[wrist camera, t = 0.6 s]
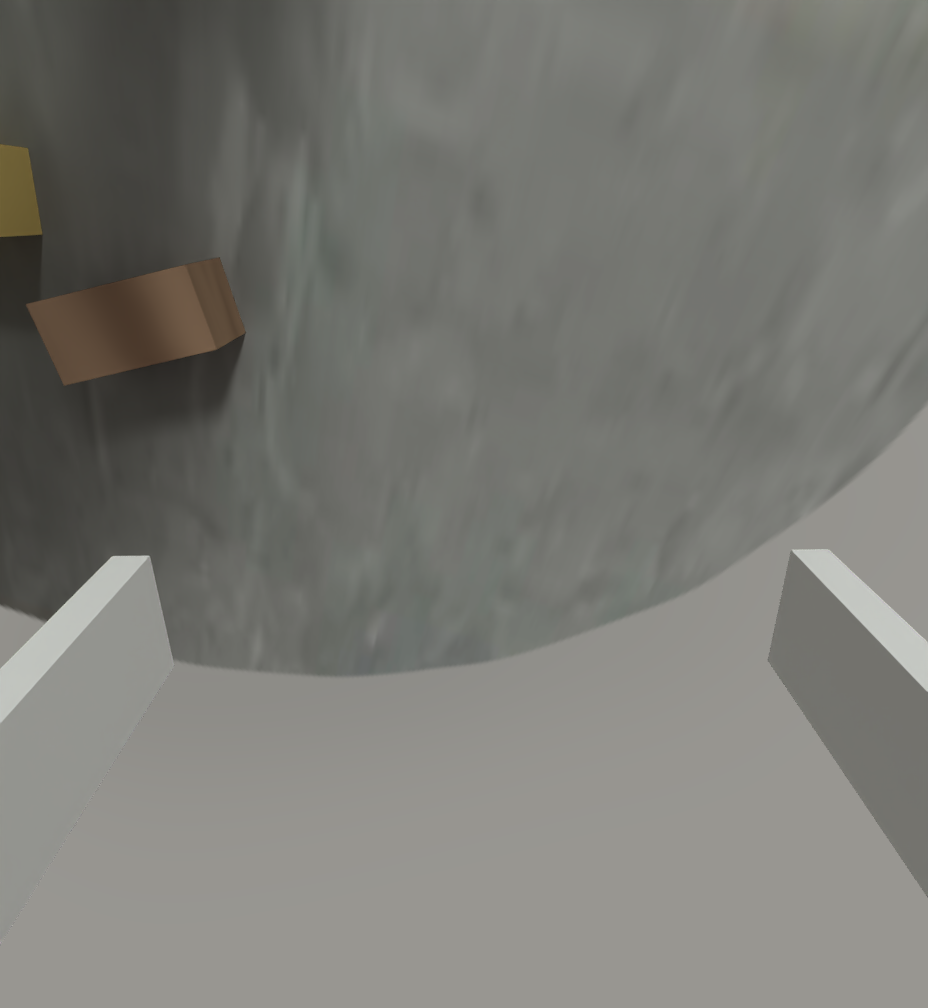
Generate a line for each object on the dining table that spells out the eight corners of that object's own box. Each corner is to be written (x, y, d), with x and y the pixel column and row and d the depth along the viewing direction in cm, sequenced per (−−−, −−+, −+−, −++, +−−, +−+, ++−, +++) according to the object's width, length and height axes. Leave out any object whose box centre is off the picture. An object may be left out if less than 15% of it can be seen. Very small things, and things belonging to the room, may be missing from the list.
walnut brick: (111, 364, 38) (64, 385, 33) (80, 292, 36) (25, 304, 32) (246, 332, 37) (216, 349, 33) (220, 257, 36) (185, 264, 31)
